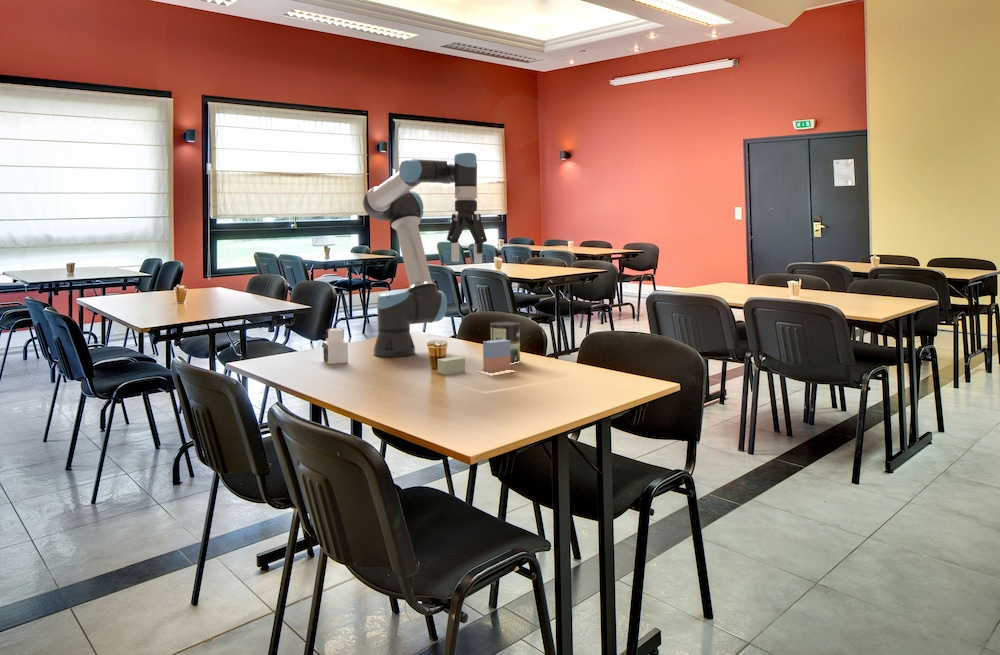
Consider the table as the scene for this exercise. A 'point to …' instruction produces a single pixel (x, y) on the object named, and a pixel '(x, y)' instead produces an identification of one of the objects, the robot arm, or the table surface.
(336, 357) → the medicine bottle
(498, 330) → the coffee can
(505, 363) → the terracotta brick
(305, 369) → the table surface
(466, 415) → the table surface
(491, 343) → the blue brick
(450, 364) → the green brick
